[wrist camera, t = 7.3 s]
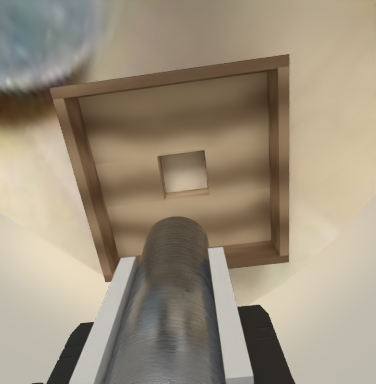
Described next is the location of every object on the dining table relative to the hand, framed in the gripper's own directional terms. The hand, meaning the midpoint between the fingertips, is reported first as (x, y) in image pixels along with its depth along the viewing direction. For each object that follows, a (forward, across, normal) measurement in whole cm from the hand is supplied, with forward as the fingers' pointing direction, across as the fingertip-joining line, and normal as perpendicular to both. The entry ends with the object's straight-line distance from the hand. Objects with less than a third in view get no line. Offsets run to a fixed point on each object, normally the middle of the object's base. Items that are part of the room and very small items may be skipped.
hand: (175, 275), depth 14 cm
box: (+21, 0, 0) cm, 21 cm away
